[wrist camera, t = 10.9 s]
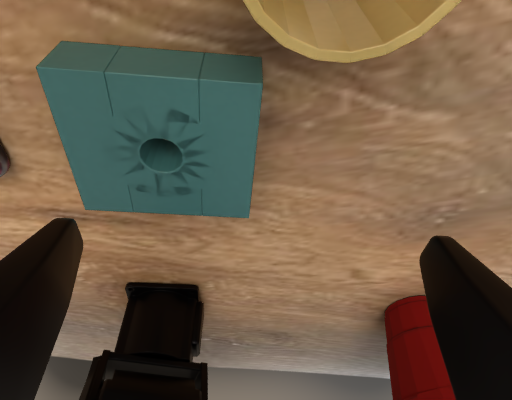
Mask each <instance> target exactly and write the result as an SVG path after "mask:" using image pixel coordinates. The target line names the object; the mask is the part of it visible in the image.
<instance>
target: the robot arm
mask: <svg viewBox="0 0 512 400" xmlns="http://www.w3.org/2000/svg"><path fill="white" fill-rule="evenodd" d="M82 251H83V240H82V237H81V234H80V231H79V229H78V226H77V223H76V221H75V220H74V219H71V218H56V219H54V220H52V221H51V222H49V223H48V224H47V225H46V226H44V227H43V228H42V229H40V230H39V231H38V232H37V233H35V234H34V235H33V236H31V237H30V238H29V239H27V240H26V241H25V242H24V243H22V244H21V245H20V246H18V247H17V248H16V249H15V250H13V251H12V252H11V253H9V254H8V255H7V256H6V257H4V258H3V259H2V260H0V400H34V399H35V396H36V393H37V391H38V388H39V385H40V383H41V380H42V377H43V375H44V372H45V369H46V366H47V364H48V361H49V358H50V356H51V353H52V350H53V348H54V345H55V342H56V340H57V337H58V334H59V332H60V329H61V326H62V324H63V321H64V318H65V316H66V313H67V310H68V307H69V303H70V300H71V296H72V292H73V288H74V284H75V280H76V275H77V271H78V267H79V263H80V259H81V255H82ZM420 268H421V273H422V279H423V284H424V289H425V294H426V299H427V304H428V309H429V314H430V318H431V321H432V325H433V328H434V331H435V334H436V338H437V341H438V344H439V347H440V350H441V354H442V357H443V360H444V363H445V366H446V370H447V373H448V376H449V379H450V382H451V386H452V389H453V392H454V395H455V398H456V400H512V288H511V287H510V286H509V285H508V284H506V283H505V282H504V281H503V280H502V279H500V278H499V277H498V276H497V275H496V274H494V273H493V272H492V271H491V270H490V269H488V268H487V267H486V266H485V265H484V264H483V263H481V262H480V261H479V260H478V259H477V258H475V257H474V256H473V255H472V254H471V253H469V252H468V251H467V250H466V249H465V248H464V247H462V246H461V245H460V244H459V243H458V242H456V241H455V240H454V239H453V238H451V237H449V236H434V237H432V238H431V239H430V241H429V242H428V244H427V246H426V247H425V249H424V250H423V252H422V253H421V256H420ZM125 290H126V293H127V297H128V303H127V307H126V311H125V314H124V318H123V322H122V325H121V329H120V333H119V336H118V340H117V344H116V347H115V351H114V352H110V350H104V351H103V354H102V356H101V355H100V356H98V357H94V358H93V361H92V365H91V368H90V371H89V374H88V377H87V380H86V383H85V385H84V388H83V390H82V393H81V396H80V398H79V400H208V383H207V380H208V376H207V375H208V373H207V363H202V362H201V363H193V362H192V361H193V356H196V357H197V356H198V355H199V354H200V347H201V338H202V328H203V318H204V308H203V303H202V301H199V288H198V287H197V286H195V285H178V284H153V283H127V284H126V288H125ZM105 379H107V380H105ZM104 380H105V381H104Z"/></svg>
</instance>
